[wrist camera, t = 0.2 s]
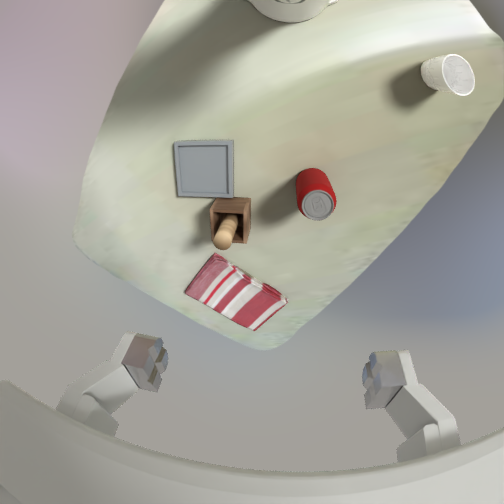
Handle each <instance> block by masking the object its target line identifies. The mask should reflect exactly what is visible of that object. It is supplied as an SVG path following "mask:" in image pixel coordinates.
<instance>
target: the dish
mask: <svg viewBox="0 0 504 504" xmlns="http://www.w3.org/2000/svg"><path fill="white" fill-rule="evenodd" d="M174 151H175V164H176V176H177V187H178V196H196V197H224V198H233V196H234V142H233V140H185V141H175V142H174Z"/></svg>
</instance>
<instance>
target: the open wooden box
mask: <svg viewBox="0 0 504 504" xmlns="http://www.w3.org/2000/svg"><path fill="white" fill-rule="evenodd" d="M226 213H239V214H241V217H240V220H239V222H238V225H237V228H236V231H235V234H234V237H233V240H232V243H245V244H247V240H248V236H249V232H250V227H251V198H240V197H233V198H224V197H217V198H216V200H215V201H214V203H213V204H212V206H211V208H210V223H211V238H212V241H213V240H214V237H215V235H216V233H217V231H218V229H219V227H220V224H221V222H222V220H223V218H224V216H225V214H226Z"/></svg>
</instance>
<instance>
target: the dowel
mask: <svg viewBox="0 0 504 504" xmlns="http://www.w3.org/2000/svg"><path fill="white" fill-rule="evenodd" d="M240 217H241V214H239V213H226V214H225V216H224V218H223V220H222V222H221V224H220V227H219V229H218V231H217V233H216V235H215V237H214V240H213V243H214V245H215V247H216V248H218V249H220V250H226V249H228V248H229V247H230V245H231V242H232V240H233V237H234V234H235V231H236V228H237V225H238V222H239V220H240Z"/></svg>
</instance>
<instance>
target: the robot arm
mask: <svg viewBox="0 0 504 504" xmlns="http://www.w3.org/2000/svg"><path fill="white" fill-rule="evenodd" d="M247 1H250V2H251V3H252V4H253V5H254V6H255V7H256V9H257V10H258V11H260V12H261V13H262V14H264V15H265V16H267V17H269V18H271V19H274V20H277V21H282V22H302V21H306V20H309V19H311V18H313V17H315V16H317V15H318V14H319V13H320V12H321V11H322V10H323V9H324V8H325V7H326V6H329V5H331V4H334V3H336V2H338V1H339V0H247ZM162 346H163V341H162V339H161V338H159V337H154V336H149V335H144V334H139V333H135V332H129V331H127V332H126V333H125V334H124V335H123V338H122V339H121V341H120V343H119V344H118V346H117V348H116V350H115V352H114V354H113V356H112V358H111V360H110V361H109V360H106V361H105V362H104V363H102V364H100V365H99V366H97V367H96V368H94V369H93V370H91V371H90V372H88V373H87V374H85V375H83V376H82V377H80V378H79V379H77V380H76V381H74V382H73V383H71V384H70V385H68V386H67V388H66V390H65V392H64V394H63V396H62V398H61V400H60V402H59V404H58V406H57V408H56V410H55V409H53V408H52V407H50V406H48V405H46V404H45V403H43V402H41V401H39V400H38V399H36V398H35V397H33V396H31V395H30V394H28V393H27V392H25V391H24V390H22V389H21V388H19V387H17V386H16V385H15V384H13V383H12V382H10V381H8V380H2V381H0V504H504V427H503V428H500V429H498V430H496V431H494V432H492V433H490V434H487V435H485V436H483V437H480V438H478V439H475V440H473V441H470V442H468V443H465V444H463V445H461V444H460V439H459V434H458V429H457V424H456V420H455V417H454V416H453V415H452V414H451V413H450V412H449V411H448V410H447V409H446V408H445V407H444V406H443V405H442V404H441V403H440V402H439V401H438V400H437V399H436V398H435V397H434V396H433V395H432V394H431V393H430V392H429V391H428V390H427V389H426V388H425V387H424V386H423V385H422V384H418V381H417V378H416V374H415V370H414V367H413V363H412V360H411V357H410V353H409V351H407V350H400V351H380V352H373V353H371V355H370V356H369V360H370V361H369V362H368V363H366V364H365V367H364V369H363V374H362V381H363V386H364V387H365V388H366V389H367V391H366V393H365V395H364V397H365V405H366V409H374V408H385V409H386V411H387V412H388V414H389V415H390V416H391V418H392V419H393V420H394V422H395V423H396V425H397V426H398V427H399V429H400V430H401V431H402V433H403V434H404V436H405V437H406V438H407V440H406V441H405V442H404V443H402V444H401V445H400V446H399V447H398V448H397V458H398V462H397V463H393V464H387V465H381V466H374V467H368V468H359V469H350V470H338V471H319V472H283V471H265V470H253V469H243V468H235V467H227V466H221V465H215V464H209V463H204V462H198V461H194V460H189V459H185V458H180V457H176V456H172V455H168V454H164V453H161V452H158V451H154V450H151V449H147V448H144V447H141V446H138V445H135V444H132V443H129V442H126V441H124V440H121V439H118V438H116V437H114V436H115V433H116V431H117V428H118V425H119V424H118V422H117V421H116V420H115V419H114V418H113V417H112V416H111V414H112V413H113V412H114V411H115V410H117V409H118V408H119V407H120V406H121V405H122V404H123V403H124V402H126V401H127V400H128V399H129V398H130V397H131V396H133V395H134V394H135V393H136V392H137V391H138V390H139V388H140V389H144V390H148V391H153V392H158V389H159V387H160V384H161V381H162V378H161V375H160V374H162V373H163V372H164V371H165V370H166V367H167V364H168V353H167V350H166V349H165V348H163V347H162Z"/></svg>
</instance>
